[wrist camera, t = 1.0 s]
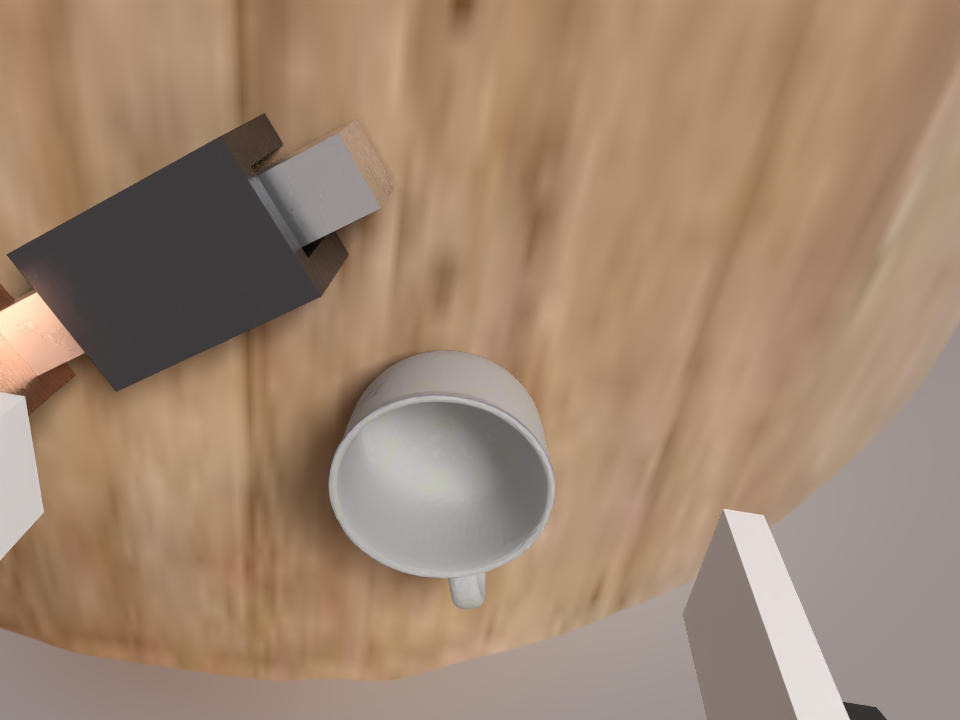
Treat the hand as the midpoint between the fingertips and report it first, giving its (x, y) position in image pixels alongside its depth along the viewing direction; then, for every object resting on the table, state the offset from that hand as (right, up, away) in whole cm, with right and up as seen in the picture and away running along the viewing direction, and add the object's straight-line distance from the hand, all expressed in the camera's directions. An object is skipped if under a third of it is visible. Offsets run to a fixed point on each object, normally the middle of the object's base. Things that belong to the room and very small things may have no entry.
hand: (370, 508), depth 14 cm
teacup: (+1, -1, +29) cm, 29 cm away
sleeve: (-12, +9, +24) cm, 28 cm away
